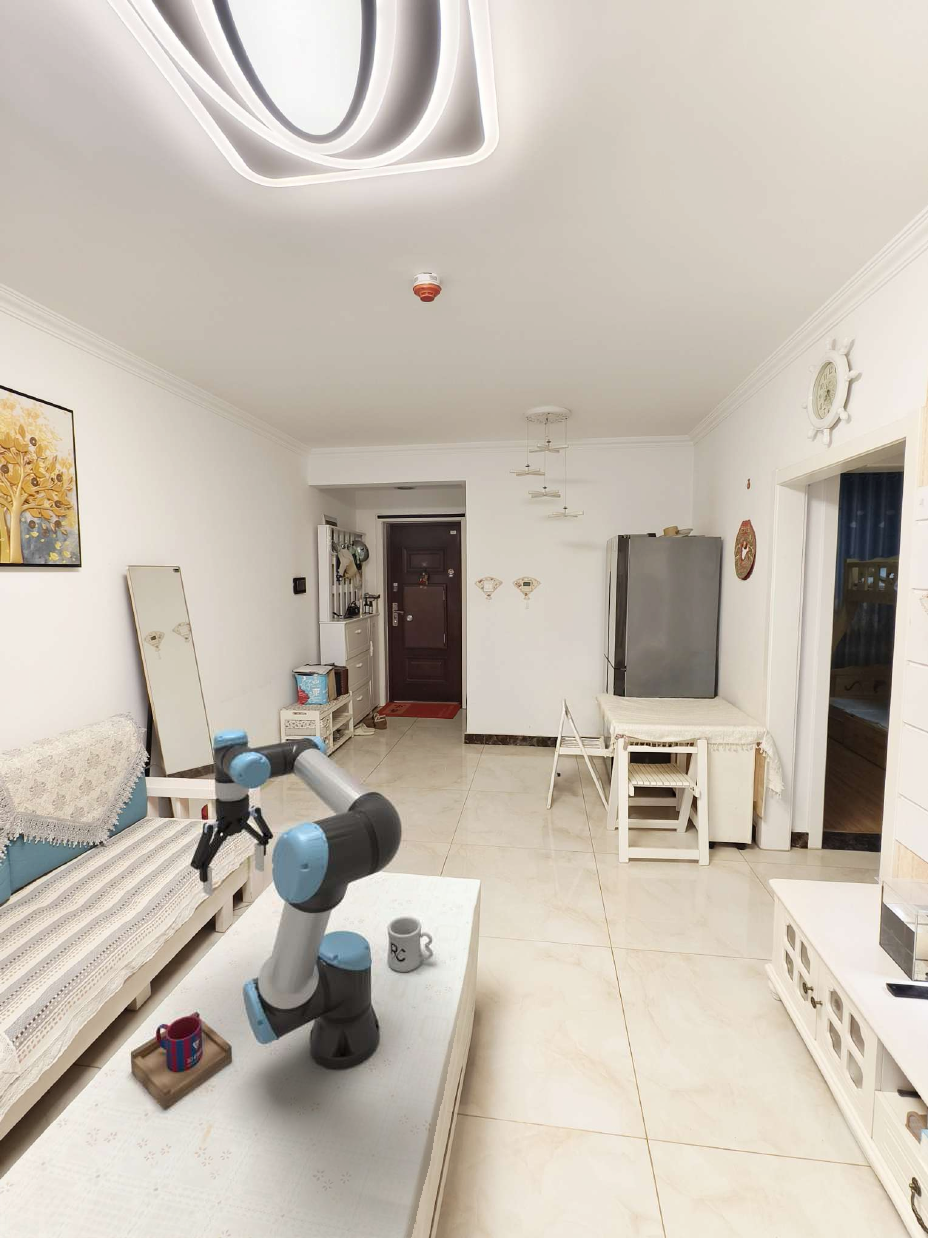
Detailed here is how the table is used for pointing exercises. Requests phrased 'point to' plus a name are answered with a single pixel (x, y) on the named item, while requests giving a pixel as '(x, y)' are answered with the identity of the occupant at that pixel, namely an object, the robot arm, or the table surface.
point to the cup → (182, 1043)
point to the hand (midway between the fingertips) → (234, 881)
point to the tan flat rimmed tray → (175, 1085)
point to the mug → (406, 944)
